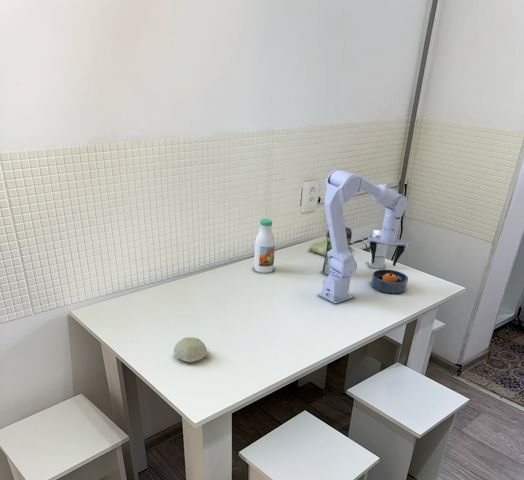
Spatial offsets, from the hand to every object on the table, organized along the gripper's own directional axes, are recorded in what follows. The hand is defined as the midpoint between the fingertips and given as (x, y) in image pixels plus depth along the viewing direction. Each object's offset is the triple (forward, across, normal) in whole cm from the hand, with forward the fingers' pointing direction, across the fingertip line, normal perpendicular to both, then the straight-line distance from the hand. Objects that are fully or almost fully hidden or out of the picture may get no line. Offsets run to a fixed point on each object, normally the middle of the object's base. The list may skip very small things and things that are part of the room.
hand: (383, 263), depth 181 cm
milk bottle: (+10, +46, -3) cm, 47 cm away
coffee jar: (+10, +18, -9) cm, 22 cm away
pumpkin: (+9, -4, -2) cm, 10 cm away
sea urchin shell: (+10, +52, +66) cm, 85 cm away
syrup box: (+10, +2, -23) cm, 25 cm away
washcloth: (+10, +22, -34) cm, 42 cm away
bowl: (+10, -4, -2) cm, 11 cm away
